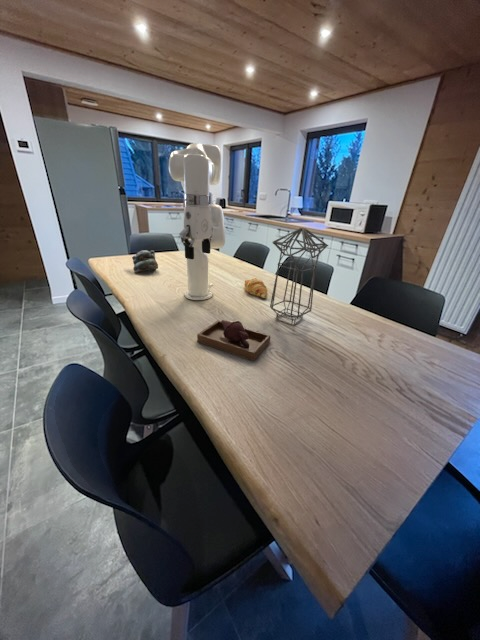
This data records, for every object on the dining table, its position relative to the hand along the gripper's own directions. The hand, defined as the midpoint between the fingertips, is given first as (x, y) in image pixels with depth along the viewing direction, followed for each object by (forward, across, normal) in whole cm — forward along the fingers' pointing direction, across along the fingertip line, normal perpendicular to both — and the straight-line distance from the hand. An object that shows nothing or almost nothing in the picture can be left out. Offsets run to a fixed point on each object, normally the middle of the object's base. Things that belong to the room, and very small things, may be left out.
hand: (198, 255), depth 90 cm
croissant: (+26, +40, -6) cm, 48 cm away
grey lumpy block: (+27, +37, +65) cm, 79 cm away
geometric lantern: (+25, +20, -30) cm, 44 cm away
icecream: (+24, -8, -19) cm, 31 cm away
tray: (+24, -8, -19) cm, 32 cm away
